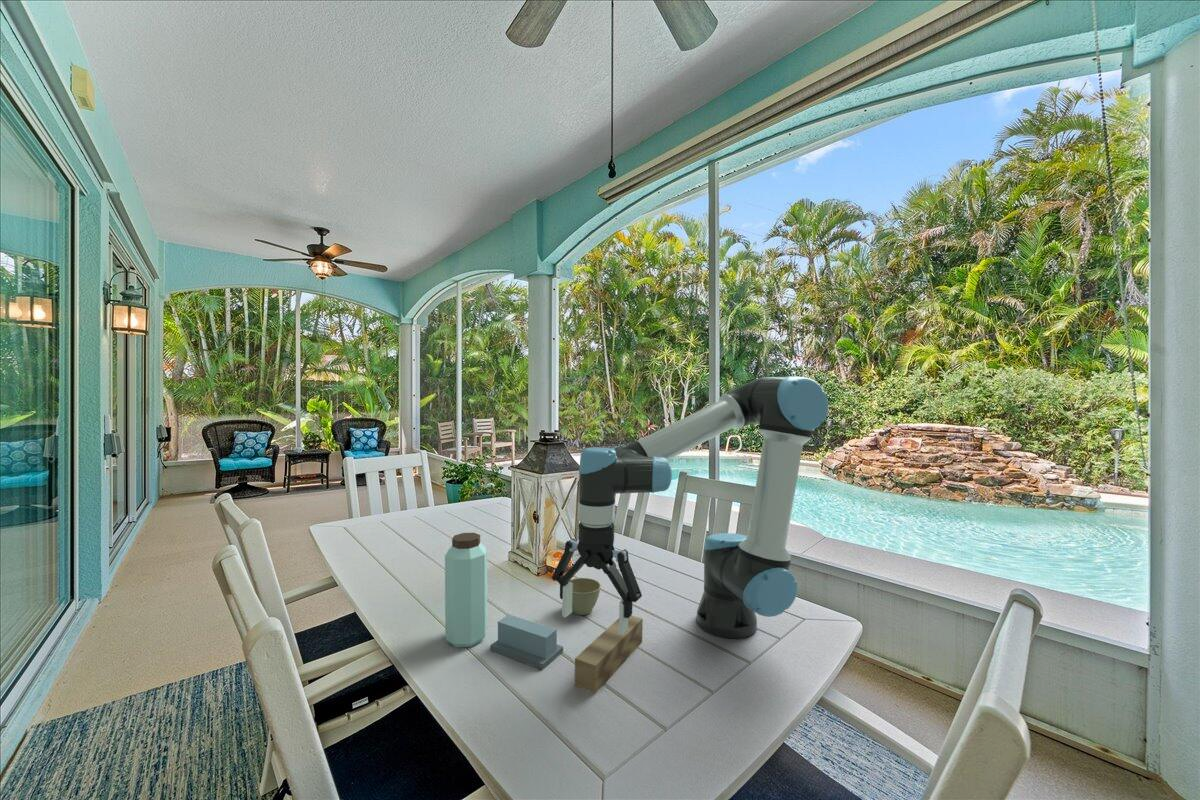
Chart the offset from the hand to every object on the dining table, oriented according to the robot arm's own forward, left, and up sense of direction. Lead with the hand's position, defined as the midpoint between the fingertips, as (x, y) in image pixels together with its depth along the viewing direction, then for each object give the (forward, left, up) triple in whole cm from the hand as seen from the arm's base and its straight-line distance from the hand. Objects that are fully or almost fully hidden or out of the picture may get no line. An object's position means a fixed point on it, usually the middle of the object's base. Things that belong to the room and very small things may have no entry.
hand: (594, 623), depth 99 cm
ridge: (+19, -1, -12) cm, 22 cm away
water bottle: (+35, +2, -12) cm, 37 cm away
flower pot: (+18, -24, -12) cm, 32 cm away
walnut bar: (0, -7, -12) cm, 14 cm away
